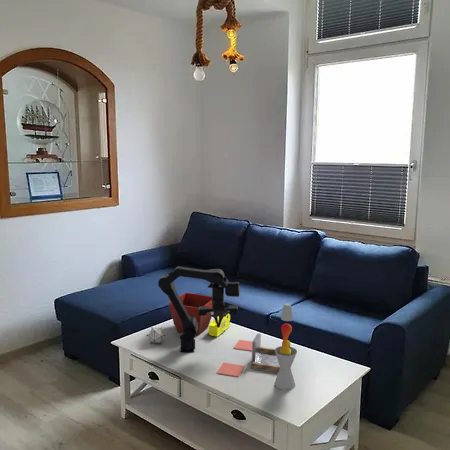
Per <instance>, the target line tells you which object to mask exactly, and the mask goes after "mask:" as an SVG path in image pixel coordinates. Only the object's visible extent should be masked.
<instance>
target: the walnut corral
mask: <svg viewBox="0 0 450 450" xmlns="http://www.w3.org/2000/svg"><path fill="white" fill-rule="evenodd" d="M275 349H276V348H271V347H270V348H269V347H263V346H260V354H267V355H273V356H276V353H275ZM250 369H252V370H253V369H254V370H259V371H266V372H273V373H278V372H279V369H280V365H279V366H276V365H269V364H262V363H256V362H252V361H251V362H250Z"/></svg>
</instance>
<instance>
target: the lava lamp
mask: <svg viewBox="0 0 450 450" xmlns="http://www.w3.org/2000/svg"><path fill="white" fill-rule="evenodd" d="M280 319H281V320H282V321H284V322H291V321H293V320H294V318H293V308H292V304H290V303H284V304H283V306H282V311H281V316H280ZM280 330H281V335H282V342H281V345H280V346H277V347H275V348H274V349H275V353H276V355H275V356H277V359H278V362H279V366H280V369H279V372H277V374H276V375H277V376H276V378H275V381H274V386H275V387H276V388H277V389H281V390H286V391H287V390H293V389H294V388H295V387H296V382H295V379H294V378H295V377H294V374H293V371H292V369H291V368H292V365H293V363H294V361H295V358H296V356H297V352H298V350H297V349H296V348H295V347H292V345H291V341H290V340H288V339H289V336H290V334H291V333H292V331H293V327H292V325H291V324H289V323H284V324H282V325H281V327H280Z"/></svg>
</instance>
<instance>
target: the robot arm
mask: <svg viewBox="0 0 450 450" xmlns="http://www.w3.org/2000/svg"><path fill="white" fill-rule="evenodd" d="M179 277H184V278H189V279H190V278H191V279H198V280H205V281H206V282H209V283H208V285H207V288H211V297H212V308H207V306H200V307H199V316H205V315H206V314H207V312H210V313H211V318H213V320H214V319H215V321H216V324H217V327H218V328H219V327H220V324H221V321H222V319H223V317H224V316H226V315H227V314H229V315H230V316H231V315H232V316H234V315H235V316H237V315H239V308H238V305H237V304H236V305H235V304H233V305H232V304H231V305H225V295H226V296H227V297H229V298H230V297H231V298H236V297H237V298H240V295H241V288H240V282H239V281H235V282H232V281H231V282H230V281H229V280H228V279H227V277H226V276H225V272H224V271H223V270H222V269H220V268H212V269H211V268H210V269H199V268H191V267H185V266H181V265H178V266H177V267H176V268H175V269H173V270H171V271H170V272H169V273H168V274H167V273H166V274H163V275H162V276H161V277H160V278H159V280H158V283H157V285H158V287H159V289H160V290H161V291H162V293H164V294H165V295H167V297H168V300H169V302H170V301H171V303H172V304H173V306H174V308H175V310H176V312H177V314H178V315H179V317H180V319H181V321H182V326H183V331H182V332H180V335H179V339H180V351H179V352H180V353H195V350H196V339H195V336H196V332H197V330H198V322H197V321H196V319H195V317H193V318H192V317H190V316H189V314H188V312H187V310H186V309H185V307H184V305H183V303H182V301H181V299H180V298H179V296H180V295H179V294H178V292H177V290H176V284H175V281H176V280H177V279H178V278H179ZM218 316H219V323H218V318H217V317H218Z"/></svg>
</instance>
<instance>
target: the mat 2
mask: <svg viewBox="0 0 450 450" xmlns="http://www.w3.org/2000/svg"><path fill="white" fill-rule="evenodd" d="M252 342H253V340H252V341H251V340H244V339H238V341H237V342H236V343H235V345H234V346H233V349H235V350H239V351H241V350H242V351H246V352H247V351H249V352H252Z"/></svg>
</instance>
